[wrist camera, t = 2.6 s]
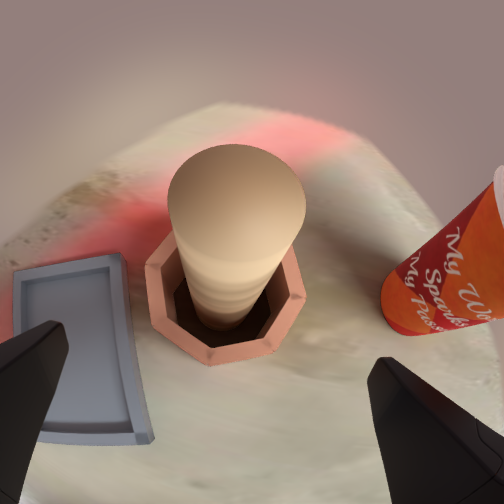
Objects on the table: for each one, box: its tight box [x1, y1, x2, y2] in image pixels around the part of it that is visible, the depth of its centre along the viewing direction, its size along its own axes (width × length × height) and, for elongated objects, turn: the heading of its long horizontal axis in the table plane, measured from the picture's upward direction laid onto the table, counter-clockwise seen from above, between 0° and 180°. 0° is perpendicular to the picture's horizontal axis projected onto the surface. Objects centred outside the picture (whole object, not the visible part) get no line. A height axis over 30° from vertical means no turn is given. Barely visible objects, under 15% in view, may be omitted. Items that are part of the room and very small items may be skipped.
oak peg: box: [168, 144, 306, 331], centre depth 13 cm, size 4×4×12 cm
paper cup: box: [380, 165, 504, 336], centre depth 14 cm, size 8×8×14 cm
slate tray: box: [13, 253, 155, 446], centre depth 15 cm, size 12×9×2 cm
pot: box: [144, 229, 307, 366], centre depth 16 cm, size 8×8×5 cm
